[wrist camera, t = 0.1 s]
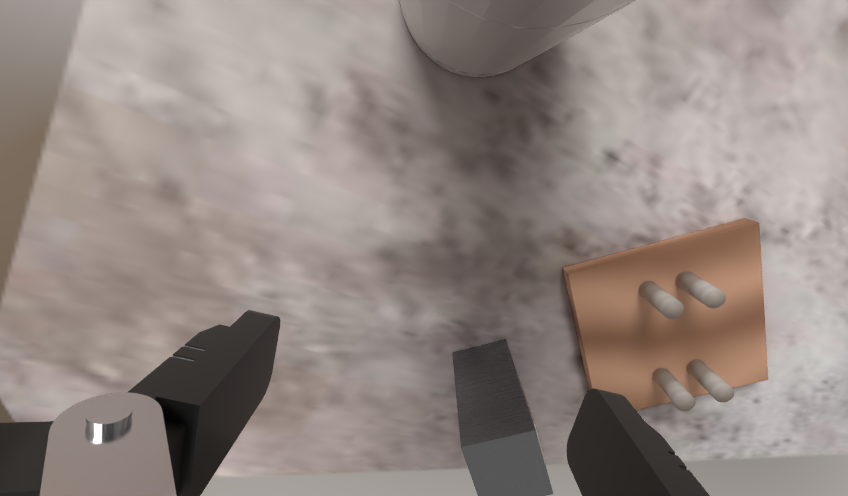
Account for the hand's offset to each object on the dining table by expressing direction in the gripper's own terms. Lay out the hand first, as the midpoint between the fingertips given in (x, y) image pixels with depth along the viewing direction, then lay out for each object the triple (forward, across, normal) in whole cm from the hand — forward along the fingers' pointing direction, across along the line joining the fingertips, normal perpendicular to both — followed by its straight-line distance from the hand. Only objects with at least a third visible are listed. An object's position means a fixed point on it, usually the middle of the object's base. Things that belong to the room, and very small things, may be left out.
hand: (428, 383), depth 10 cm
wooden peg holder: (+18, -18, +2) cm, 25 cm away
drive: (+18, -7, +9) cm, 21 cm away
